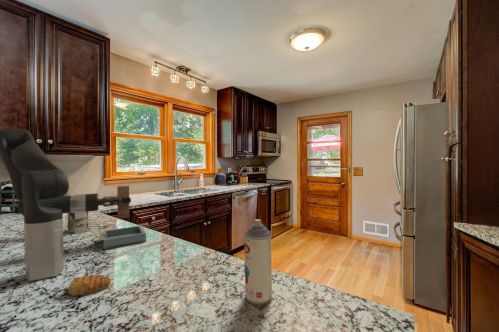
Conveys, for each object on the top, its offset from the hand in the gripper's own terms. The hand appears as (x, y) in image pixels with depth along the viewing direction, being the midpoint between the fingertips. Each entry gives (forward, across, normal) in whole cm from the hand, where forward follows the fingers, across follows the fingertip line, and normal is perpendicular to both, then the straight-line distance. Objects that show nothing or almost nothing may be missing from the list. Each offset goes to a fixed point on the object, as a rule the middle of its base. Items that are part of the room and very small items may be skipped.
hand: (129, 199), depth 105 cm
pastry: (-14, -41, +19) cm, 47 cm away
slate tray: (-3, 0, +19) cm, 19 cm away
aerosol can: (+22, -71, +18) cm, 77 cm away
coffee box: (-22, +33, +20) cm, 44 cm away
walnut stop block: (-3, 0, +8) cm, 8 cm away
